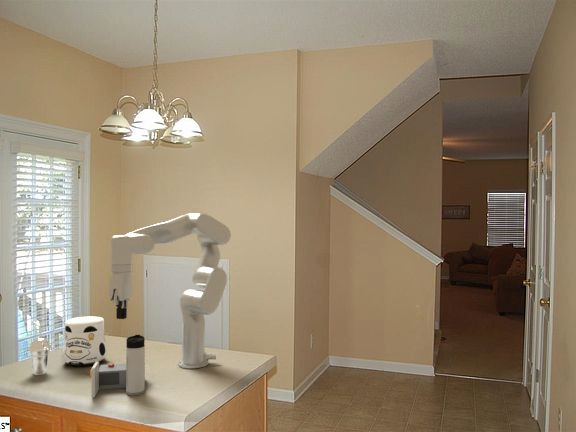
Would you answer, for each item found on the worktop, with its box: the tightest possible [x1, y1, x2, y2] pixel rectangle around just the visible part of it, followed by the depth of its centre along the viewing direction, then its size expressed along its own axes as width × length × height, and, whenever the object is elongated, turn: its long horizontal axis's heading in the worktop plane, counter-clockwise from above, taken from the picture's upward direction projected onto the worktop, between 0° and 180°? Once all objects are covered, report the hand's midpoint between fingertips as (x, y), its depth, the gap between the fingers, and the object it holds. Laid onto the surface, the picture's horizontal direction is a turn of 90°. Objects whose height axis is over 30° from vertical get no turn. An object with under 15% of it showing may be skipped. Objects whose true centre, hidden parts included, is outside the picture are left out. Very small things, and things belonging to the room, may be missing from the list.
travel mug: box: [125, 334, 146, 397], centre depth 179 cm, size 6×7×20 cm
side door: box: [89, 361, 100, 398], centre depth 177 cm, size 9×2×10 cm, turn 11°
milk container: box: [62, 315, 108, 367], centre depth 214 cm, size 17×17×18 cm
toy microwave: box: [99, 362, 126, 390], centre depth 187 cm, size 16×9×7 cm, turn 103°
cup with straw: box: [27, 320, 53, 376], centre depth 199 cm, size 8×9×20 cm
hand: (121, 318), depth 185 cm, fingers closed
